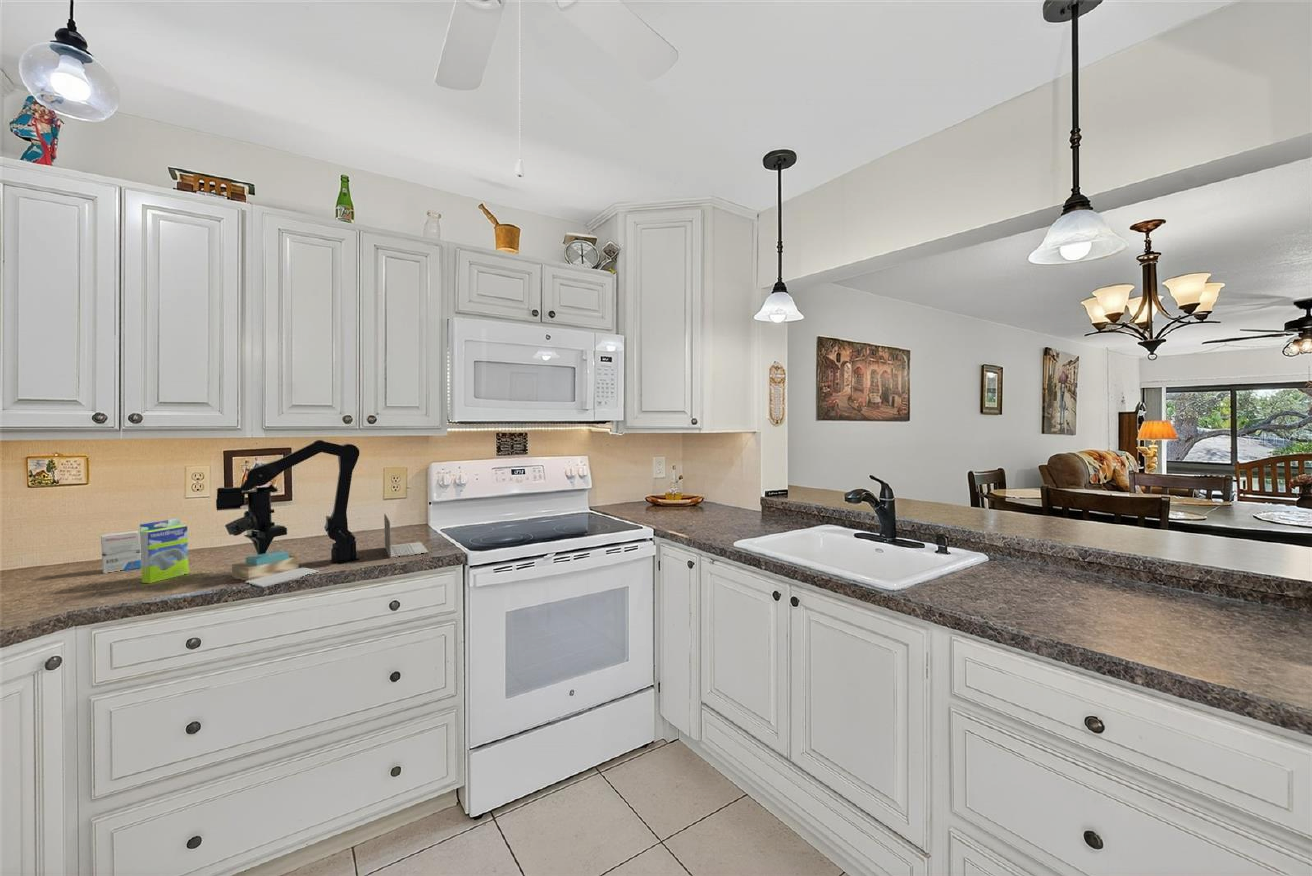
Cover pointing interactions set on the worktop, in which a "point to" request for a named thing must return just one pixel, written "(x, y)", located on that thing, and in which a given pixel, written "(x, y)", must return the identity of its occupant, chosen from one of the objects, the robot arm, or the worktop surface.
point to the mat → (281, 577)
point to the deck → (263, 569)
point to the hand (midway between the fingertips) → (261, 556)
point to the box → (163, 550)
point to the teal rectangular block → (267, 558)
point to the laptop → (401, 548)
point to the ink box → (121, 551)
